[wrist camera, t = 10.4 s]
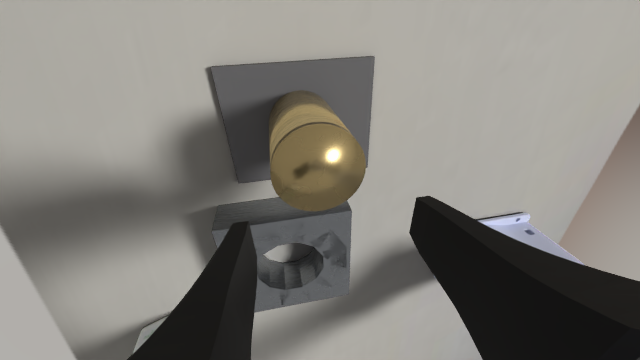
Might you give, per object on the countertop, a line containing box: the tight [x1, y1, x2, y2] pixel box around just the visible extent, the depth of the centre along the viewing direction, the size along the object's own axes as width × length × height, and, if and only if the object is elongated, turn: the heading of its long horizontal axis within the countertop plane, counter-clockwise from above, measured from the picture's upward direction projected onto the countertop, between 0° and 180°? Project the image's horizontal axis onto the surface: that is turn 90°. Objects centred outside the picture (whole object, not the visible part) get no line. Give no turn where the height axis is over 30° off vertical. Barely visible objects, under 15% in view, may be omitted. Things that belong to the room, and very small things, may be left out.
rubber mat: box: [211, 56, 375, 183], centre depth 18 cm, size 10×8×1 cm
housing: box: [212, 197, 352, 312], centre depth 22 cm, size 10×10×3 cm
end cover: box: [269, 90, 366, 211], centre depth 15 cm, size 4×4×7 cm
